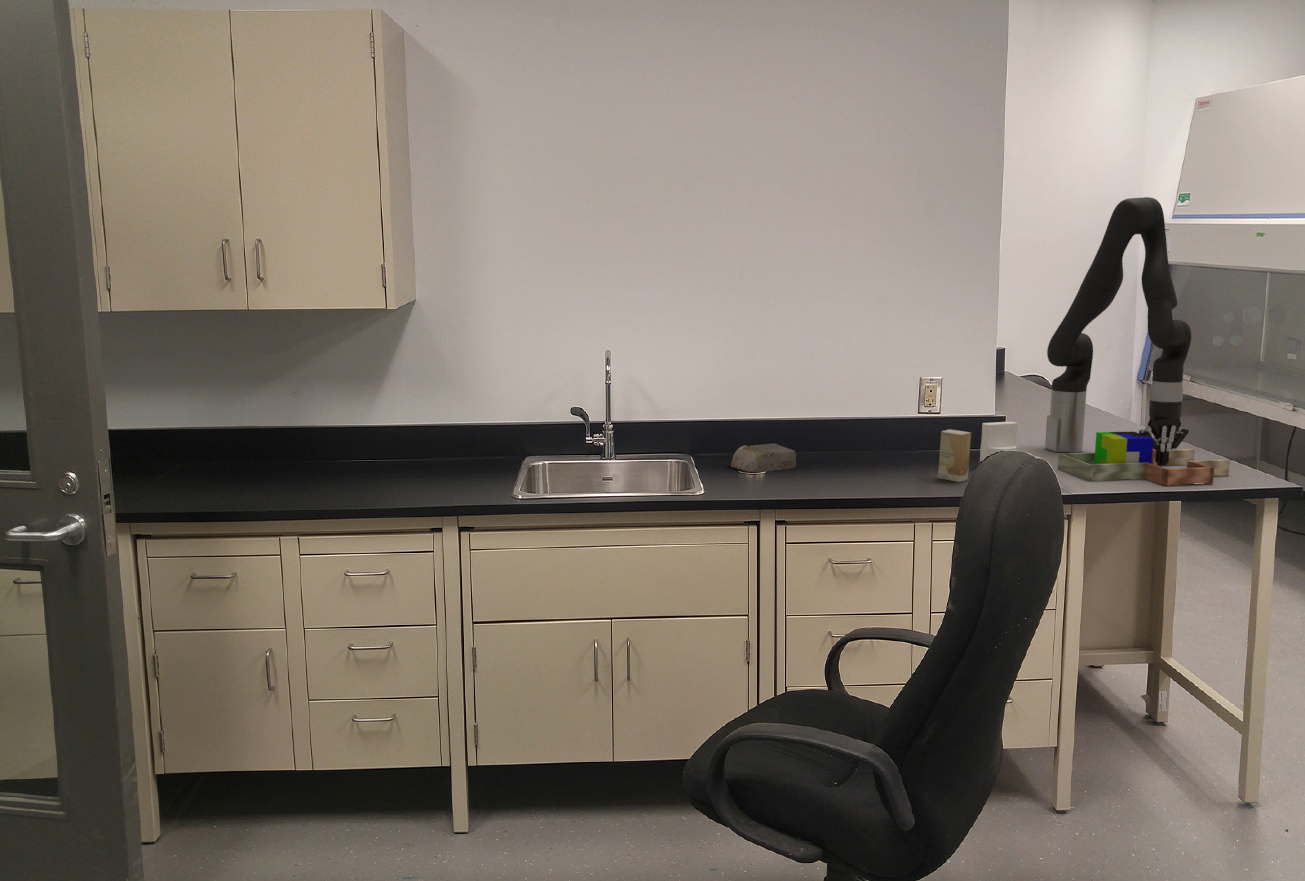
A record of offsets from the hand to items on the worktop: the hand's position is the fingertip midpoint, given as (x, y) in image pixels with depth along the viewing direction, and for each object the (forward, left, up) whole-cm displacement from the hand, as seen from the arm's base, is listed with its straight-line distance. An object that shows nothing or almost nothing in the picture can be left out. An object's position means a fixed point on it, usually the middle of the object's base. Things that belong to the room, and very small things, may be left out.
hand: (1161, 465), depth 276 cm
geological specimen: (-99, +23, -2) cm, 102 cm away
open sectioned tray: (-5, 0, -2) cm, 5 cm away
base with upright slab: (-39, +11, -2) cm, 41 cm away
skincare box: (-56, 0, -2) cm, 56 cm away
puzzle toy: (-11, 0, -2) cm, 11 cm away
